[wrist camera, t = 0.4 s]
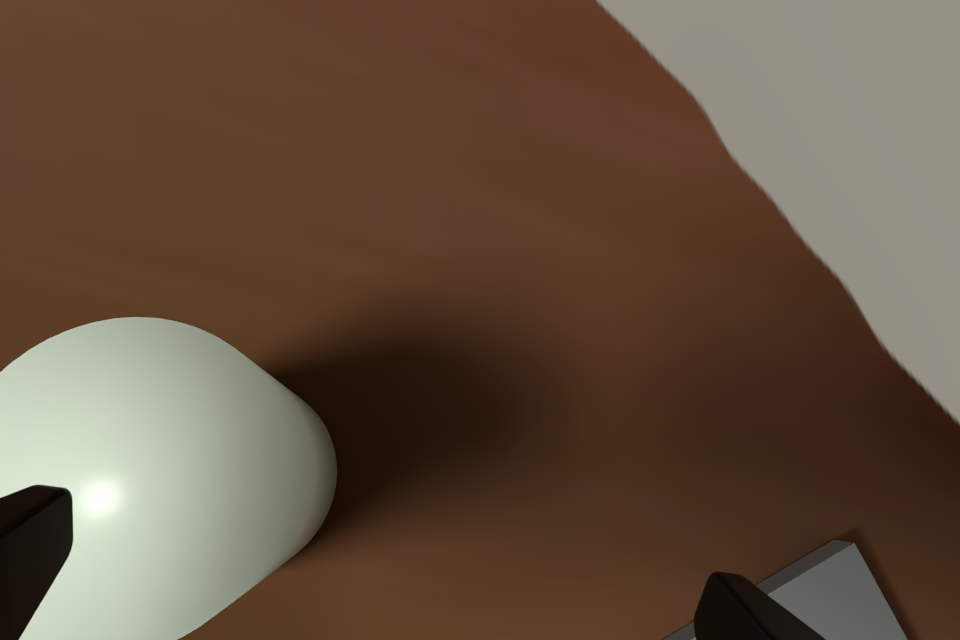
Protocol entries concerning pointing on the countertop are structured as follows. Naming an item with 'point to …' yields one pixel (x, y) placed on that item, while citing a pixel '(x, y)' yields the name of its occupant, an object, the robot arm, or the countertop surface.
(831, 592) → the grey flat plate
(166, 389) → the pale green rounded cylinder
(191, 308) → the countertop surface
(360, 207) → the countertop surface
